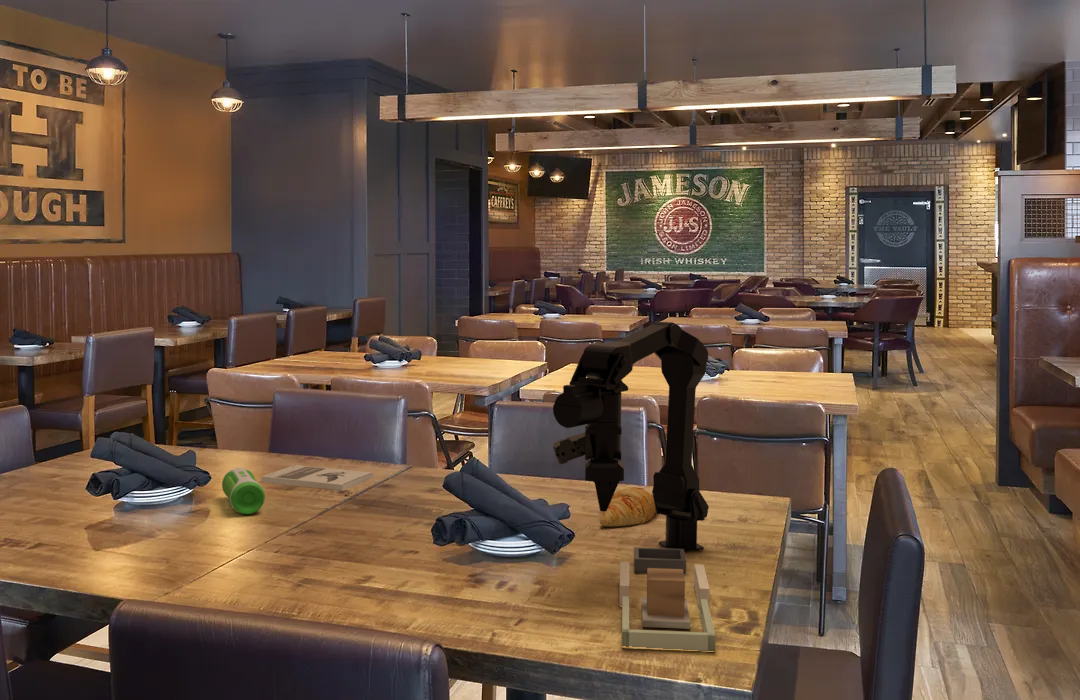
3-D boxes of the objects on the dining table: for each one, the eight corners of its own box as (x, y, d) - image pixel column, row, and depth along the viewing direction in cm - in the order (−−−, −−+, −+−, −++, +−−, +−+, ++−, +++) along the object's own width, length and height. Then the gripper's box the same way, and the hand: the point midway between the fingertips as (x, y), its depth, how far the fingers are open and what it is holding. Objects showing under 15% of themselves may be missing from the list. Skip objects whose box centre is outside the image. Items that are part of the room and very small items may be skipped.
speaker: (267, 515, 207) (266, 480, 206) (231, 518, 204) (230, 483, 203) (254, 496, 223) (253, 464, 222) (221, 499, 220) (220, 467, 219)
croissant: (613, 549, 196) (629, 518, 193) (577, 518, 201) (592, 488, 198) (666, 524, 213) (681, 495, 210) (631, 496, 218) (646, 468, 215)
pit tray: (633, 560, 177) (634, 547, 177) (683, 562, 177) (683, 548, 176) (634, 572, 170) (634, 559, 170) (685, 574, 170) (686, 560, 169)
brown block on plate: (641, 603, 155) (642, 563, 154) (685, 604, 154) (686, 564, 153) (642, 626, 145) (643, 584, 144) (690, 628, 144) (691, 586, 144)
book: (261, 484, 237) (261, 476, 236) (295, 472, 250) (294, 464, 249) (342, 493, 228) (342, 484, 228) (373, 480, 241) (373, 472, 241)
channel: (619, 581, 166) (620, 561, 165) (703, 584, 164) (703, 564, 164) (619, 607, 154) (619, 585, 153) (708, 610, 152) (709, 588, 152)
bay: (622, 611, 152) (622, 596, 151) (706, 615, 151) (706, 599, 150) (621, 649, 137) (622, 631, 137) (715, 652, 136) (715, 635, 136)
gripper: (557, 410, 173) (557, 496, 174) (554, 429, 154) (553, 525, 156) (620, 411, 172) (619, 497, 174) (624, 430, 154) (623, 526, 155)
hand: (603, 510), depth 165 cm, fingers closed
